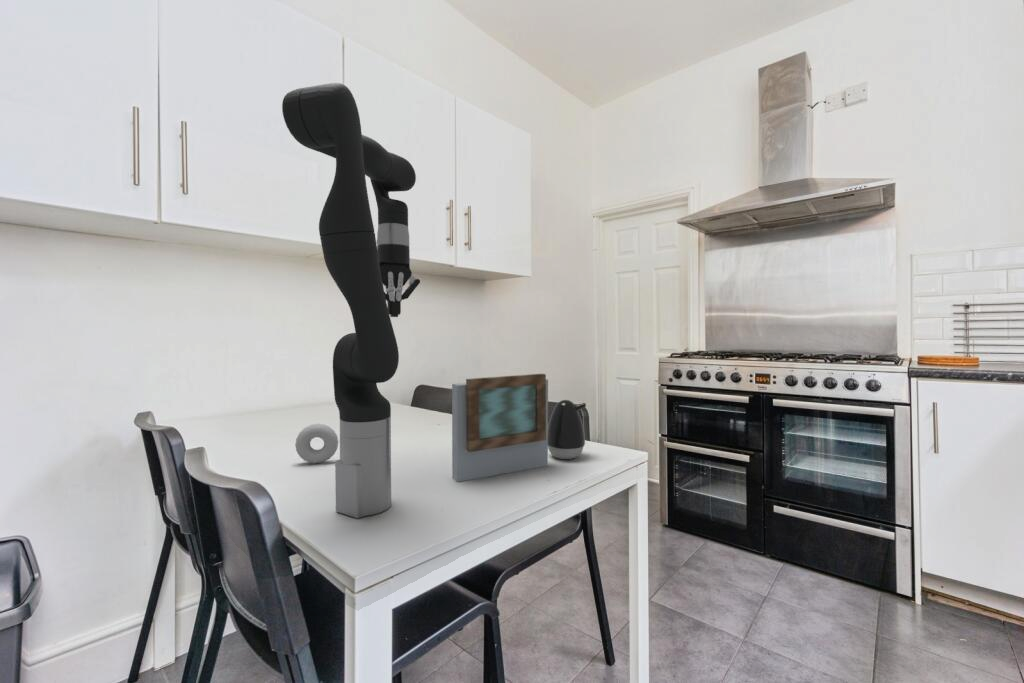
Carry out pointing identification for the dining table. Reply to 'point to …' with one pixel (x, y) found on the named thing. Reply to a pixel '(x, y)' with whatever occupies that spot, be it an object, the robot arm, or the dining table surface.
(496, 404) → the picture frame
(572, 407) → the black electric kettle
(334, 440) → the donut
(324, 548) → the dining table surface
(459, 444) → the wall board
